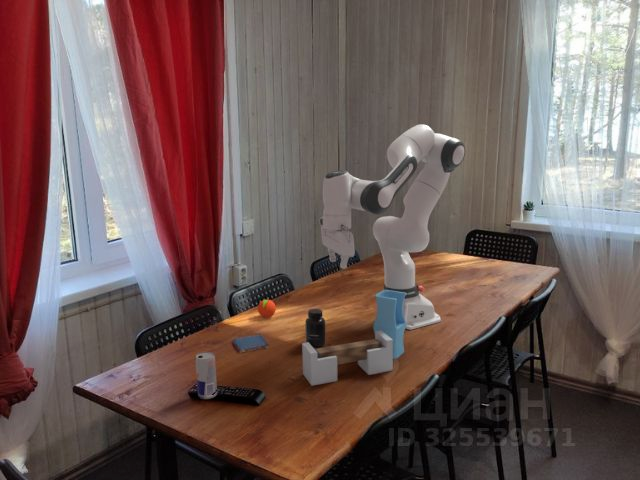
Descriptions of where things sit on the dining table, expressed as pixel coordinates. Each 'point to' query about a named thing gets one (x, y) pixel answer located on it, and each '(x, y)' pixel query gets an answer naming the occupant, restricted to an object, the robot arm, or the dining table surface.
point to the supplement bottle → (315, 328)
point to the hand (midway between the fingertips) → (338, 264)
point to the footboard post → (318, 366)
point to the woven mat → (250, 343)
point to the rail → (348, 351)
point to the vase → (391, 318)
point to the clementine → (266, 308)
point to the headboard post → (379, 356)
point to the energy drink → (206, 375)
